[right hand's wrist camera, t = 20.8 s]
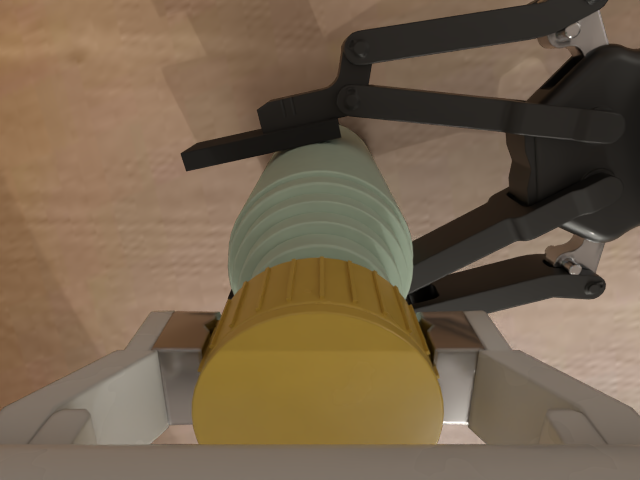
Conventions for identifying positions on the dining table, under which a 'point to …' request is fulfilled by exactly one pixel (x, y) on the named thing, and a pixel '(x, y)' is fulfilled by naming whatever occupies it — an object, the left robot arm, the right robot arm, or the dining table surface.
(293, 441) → the cap
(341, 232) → the bottle
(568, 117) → the left robot arm
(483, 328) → the right robot arm
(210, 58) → the dining table surface
